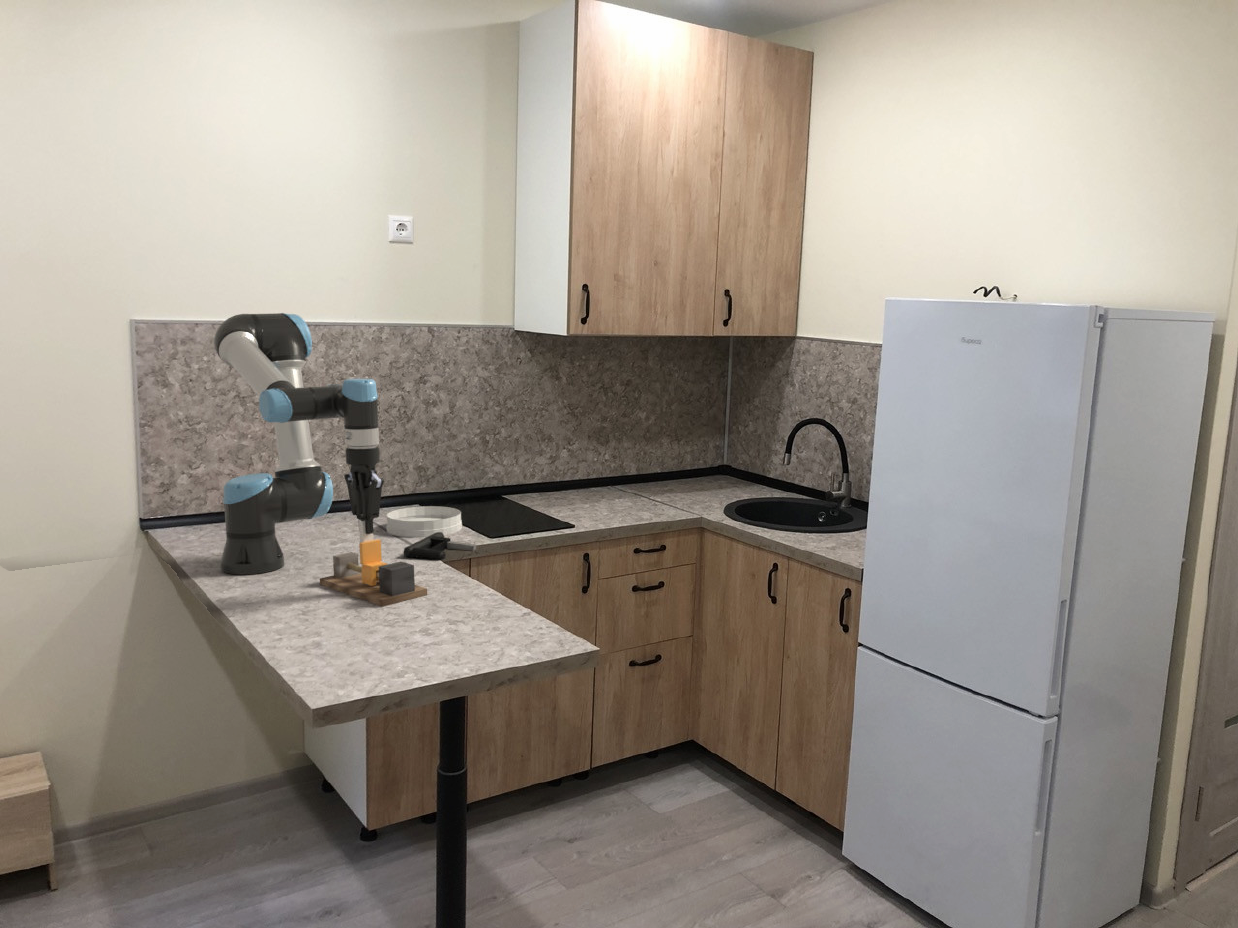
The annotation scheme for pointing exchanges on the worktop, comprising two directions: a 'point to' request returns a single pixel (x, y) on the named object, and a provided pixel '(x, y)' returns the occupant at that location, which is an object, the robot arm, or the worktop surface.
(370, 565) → the orange sliding rod block
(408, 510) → the dish
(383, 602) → the rail
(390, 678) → the worktop surface
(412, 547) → the door handle
